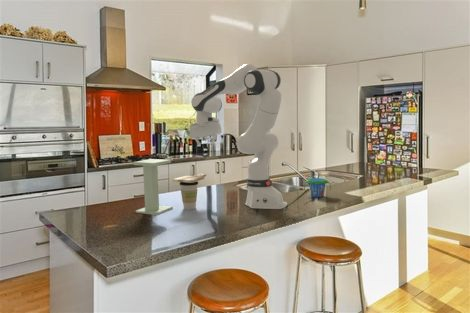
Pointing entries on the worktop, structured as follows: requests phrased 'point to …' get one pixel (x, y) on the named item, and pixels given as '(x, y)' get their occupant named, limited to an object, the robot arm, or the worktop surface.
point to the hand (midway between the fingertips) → (206, 144)
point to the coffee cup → (189, 194)
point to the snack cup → (317, 186)
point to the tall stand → (152, 186)
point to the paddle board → (190, 178)
